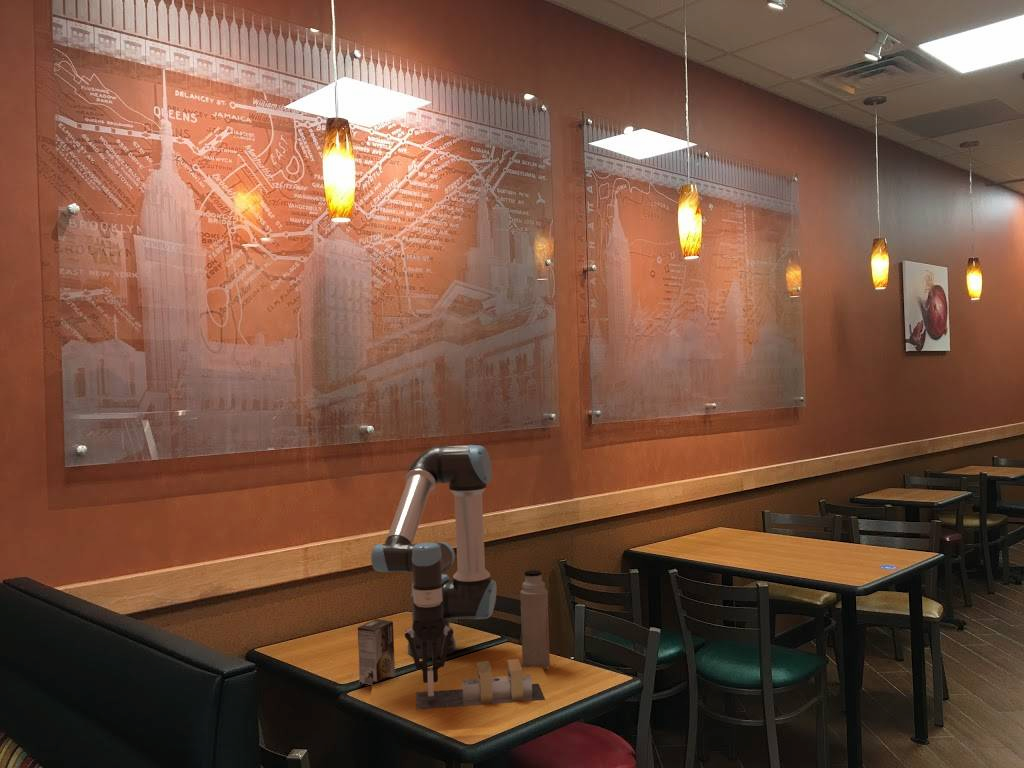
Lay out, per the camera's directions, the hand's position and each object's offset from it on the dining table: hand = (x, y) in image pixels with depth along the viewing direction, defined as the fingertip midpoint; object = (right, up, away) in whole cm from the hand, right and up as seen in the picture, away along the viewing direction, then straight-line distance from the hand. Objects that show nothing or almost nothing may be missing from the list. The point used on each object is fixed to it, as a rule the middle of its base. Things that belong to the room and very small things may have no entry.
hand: (430, 694), depth 217 cm
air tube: (+17, -1, +2) cm, 17 cm away
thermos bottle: (+28, -2, +28) cm, 39 cm away
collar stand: (+13, -3, +1) cm, 13 cm away
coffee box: (-17, -4, +20) cm, 27 cm away
